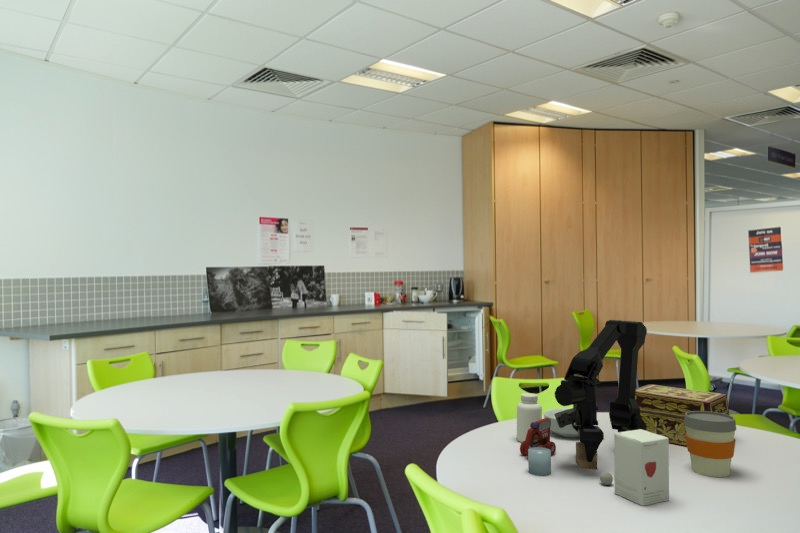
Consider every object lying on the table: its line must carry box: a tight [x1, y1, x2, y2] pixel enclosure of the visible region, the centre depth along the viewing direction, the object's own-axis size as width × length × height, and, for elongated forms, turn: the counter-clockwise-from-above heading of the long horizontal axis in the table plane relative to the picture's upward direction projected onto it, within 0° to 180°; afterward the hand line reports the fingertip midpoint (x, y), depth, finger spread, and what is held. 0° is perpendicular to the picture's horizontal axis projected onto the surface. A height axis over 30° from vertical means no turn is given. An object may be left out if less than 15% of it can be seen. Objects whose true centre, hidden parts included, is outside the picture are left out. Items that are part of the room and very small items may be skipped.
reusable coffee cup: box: [684, 411, 737, 478], centre depth 153 cm, size 12×13×15 cm
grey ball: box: [599, 470, 614, 486], centre depth 144 cm, size 3×3×3 cm
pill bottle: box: [516, 392, 543, 443], centre depth 183 cm, size 8×8×15 cm
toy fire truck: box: [519, 417, 557, 457], centre depth 169 cm, size 7×12×10 cm, turn 133°
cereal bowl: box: [543, 407, 595, 438], centre depth 190 cm, size 17×17×7 cm
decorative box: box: [635, 384, 730, 448], centre depth 186 cm, size 28×19×15 cm
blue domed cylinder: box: [527, 447, 552, 477], centre depth 154 cm, size 6×6×6 cm
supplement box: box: [613, 429, 670, 507], centre depth 136 cm, size 9×9×15 cm
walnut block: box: [575, 441, 598, 471], centre depth 158 cm, size 5×5×6 cm
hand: (586, 456), depth 158 cm, fingers open, 9 cm apart
